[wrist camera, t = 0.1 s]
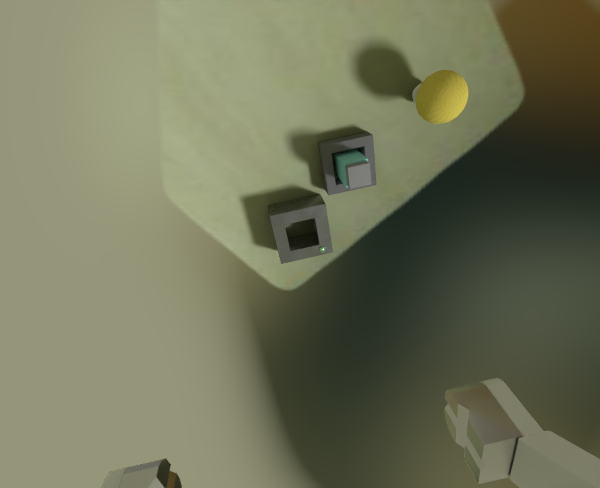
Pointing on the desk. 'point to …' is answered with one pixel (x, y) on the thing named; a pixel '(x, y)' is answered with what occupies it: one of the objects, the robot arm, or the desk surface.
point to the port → (306, 243)
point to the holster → (340, 145)
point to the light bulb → (441, 96)
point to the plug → (352, 168)
